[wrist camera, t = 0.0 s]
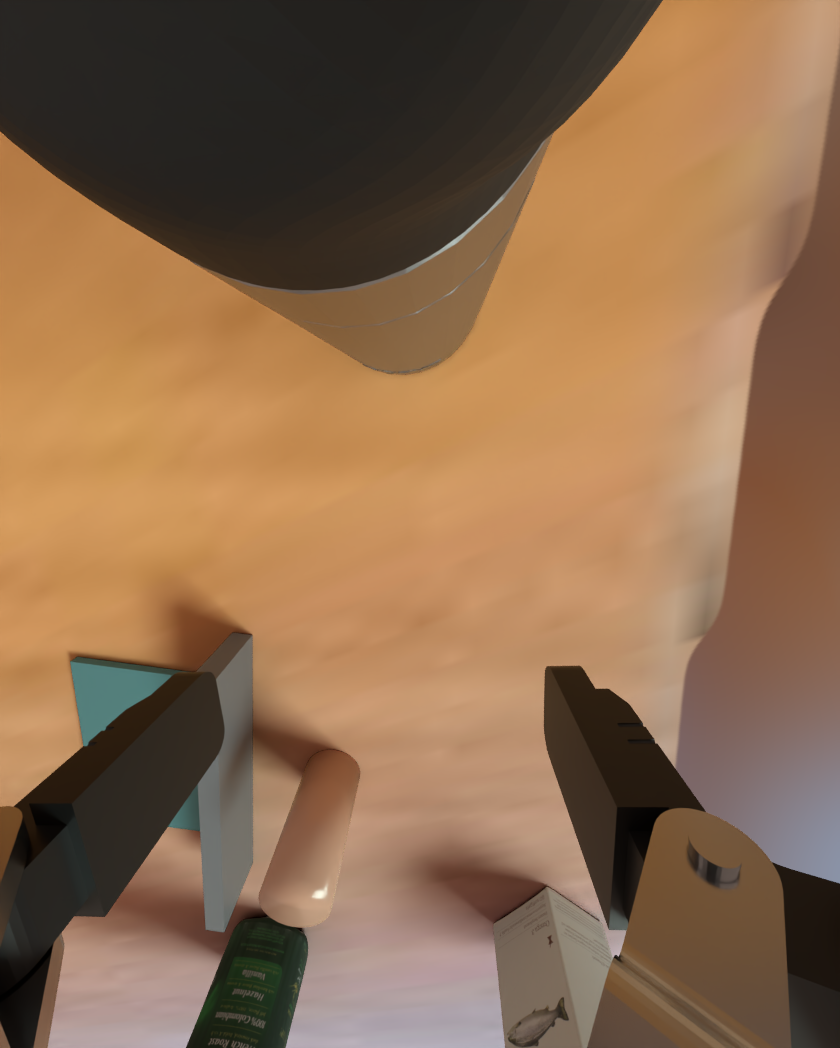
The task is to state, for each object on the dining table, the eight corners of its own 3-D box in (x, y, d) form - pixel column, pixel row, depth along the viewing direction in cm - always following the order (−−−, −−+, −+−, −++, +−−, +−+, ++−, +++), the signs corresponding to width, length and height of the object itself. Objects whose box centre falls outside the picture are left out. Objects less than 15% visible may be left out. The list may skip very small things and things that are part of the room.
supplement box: (546, 882, 35) (603, 1133, 23) (603, 922, 36) (687, 1181, 24) (489, 921, 37) (514, 1174, 25) (545, 958, 38) (596, 1216, 26)
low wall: (232, 632, 29) (191, 676, 24) (252, 635, 29) (215, 679, 24) (236, 860, 36) (205, 929, 31) (252, 862, 36) (224, 932, 31)
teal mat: (77, 656, 30) (70, 661, 30) (217, 675, 30) (212, 680, 30) (100, 809, 35) (94, 816, 34) (222, 826, 35) (218, 833, 34)
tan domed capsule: (302, 749, 32) (252, 876, 23) (357, 749, 32) (327, 876, 23) (310, 792, 33) (265, 926, 25) (362, 792, 33) (335, 928, 24)
